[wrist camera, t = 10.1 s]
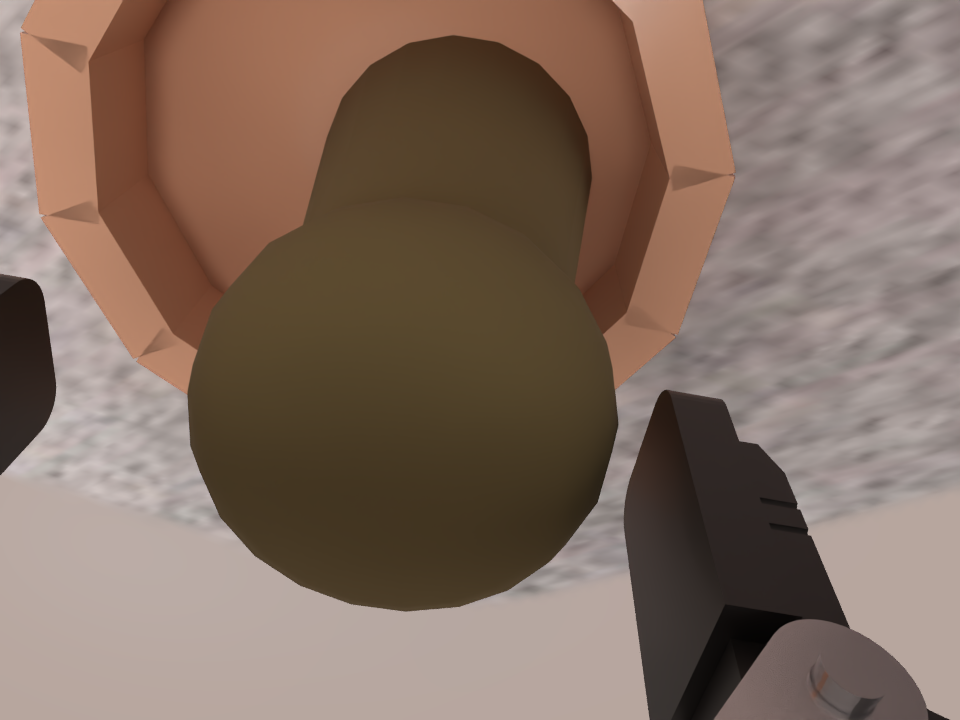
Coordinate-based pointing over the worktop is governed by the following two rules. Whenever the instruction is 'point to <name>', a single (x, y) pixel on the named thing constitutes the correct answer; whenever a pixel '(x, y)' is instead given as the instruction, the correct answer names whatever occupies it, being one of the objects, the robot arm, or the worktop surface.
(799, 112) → the worktop surface
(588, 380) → the olive pestle
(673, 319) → the bowl
